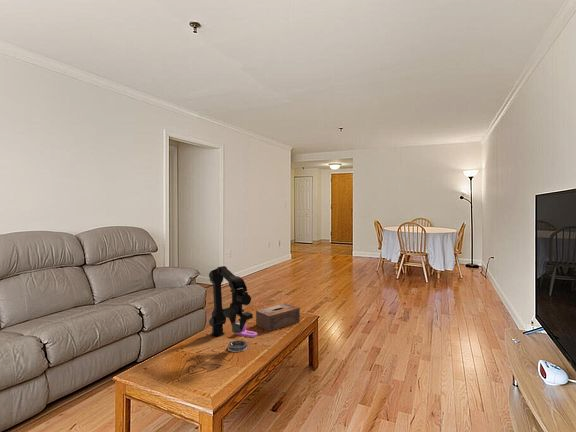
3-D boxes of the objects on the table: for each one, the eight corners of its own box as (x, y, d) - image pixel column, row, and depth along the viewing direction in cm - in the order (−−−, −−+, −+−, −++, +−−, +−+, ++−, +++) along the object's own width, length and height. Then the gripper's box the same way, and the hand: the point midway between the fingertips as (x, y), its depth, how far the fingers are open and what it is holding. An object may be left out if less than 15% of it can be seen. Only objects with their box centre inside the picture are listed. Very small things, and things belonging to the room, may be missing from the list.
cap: (229, 331, 184) (229, 323, 184) (237, 327, 189) (237, 320, 189) (237, 333, 181) (237, 326, 181) (245, 330, 186) (244, 322, 185)
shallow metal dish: (223, 348, 184) (223, 344, 184) (237, 341, 193) (237, 338, 193) (237, 353, 177) (237, 349, 177) (251, 346, 186) (251, 343, 186)
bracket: (236, 334, 204) (235, 323, 204) (241, 331, 209) (240, 320, 209) (254, 338, 199) (254, 326, 199) (258, 334, 204) (258, 323, 204)
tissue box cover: (286, 317, 237) (285, 303, 237) (299, 322, 226) (299, 307, 226) (256, 325, 220) (256, 310, 220) (269, 331, 209) (269, 316, 209)
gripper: (214, 301, 184) (215, 329, 184) (238, 307, 172) (238, 337, 173) (229, 297, 193) (230, 323, 193) (253, 302, 181) (253, 331, 182)
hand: (237, 328), depth 185 cm, fingers closed on cap, 6 cm apart
